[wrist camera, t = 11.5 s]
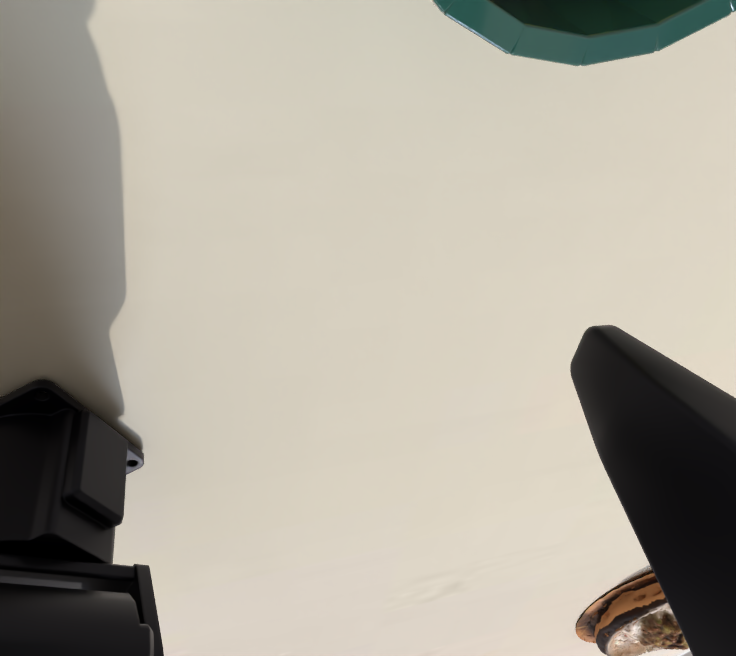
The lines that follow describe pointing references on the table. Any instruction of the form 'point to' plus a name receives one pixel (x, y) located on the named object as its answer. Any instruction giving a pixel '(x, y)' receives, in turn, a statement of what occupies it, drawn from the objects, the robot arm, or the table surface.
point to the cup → (584, 25)
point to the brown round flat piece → (632, 621)
